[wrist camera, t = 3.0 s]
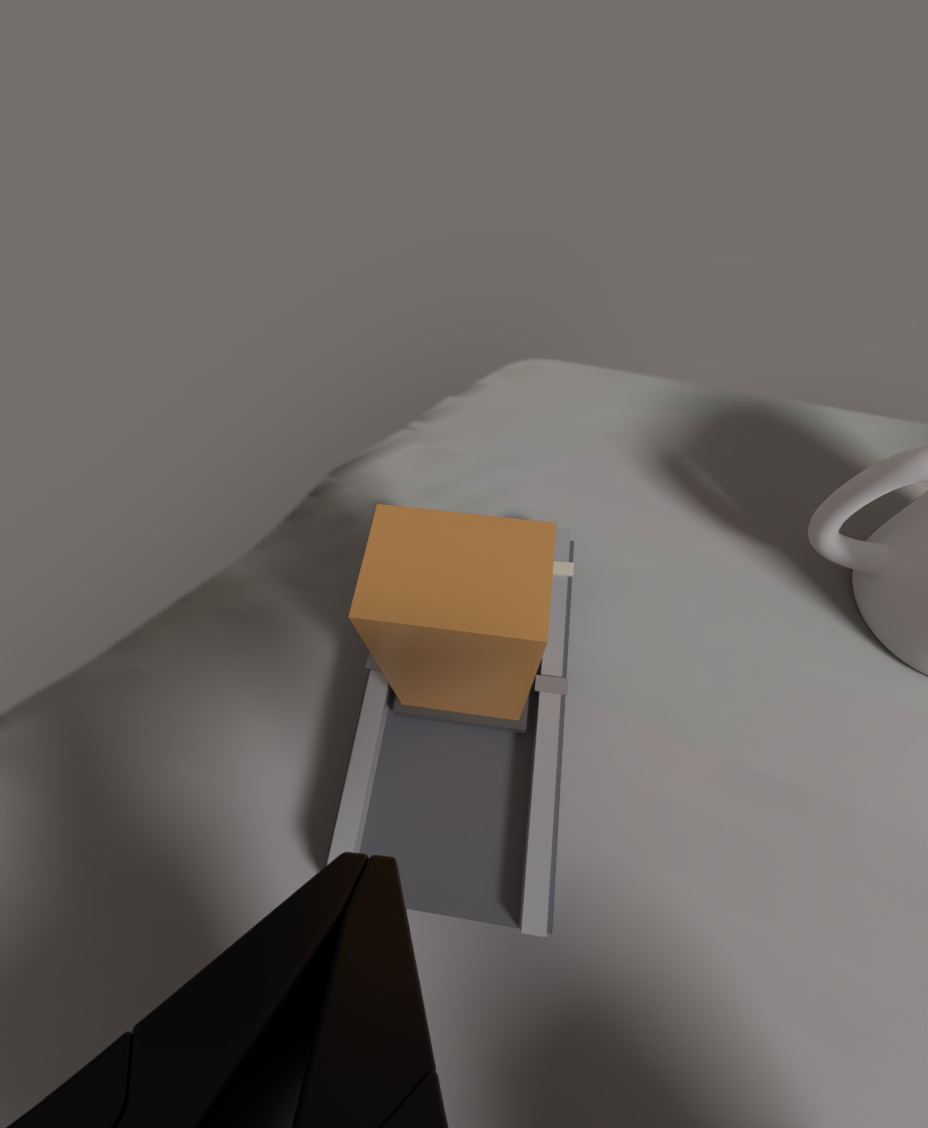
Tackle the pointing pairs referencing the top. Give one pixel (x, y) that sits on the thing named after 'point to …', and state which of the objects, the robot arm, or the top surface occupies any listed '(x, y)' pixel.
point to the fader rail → (465, 793)
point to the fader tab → (456, 612)
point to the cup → (884, 554)
